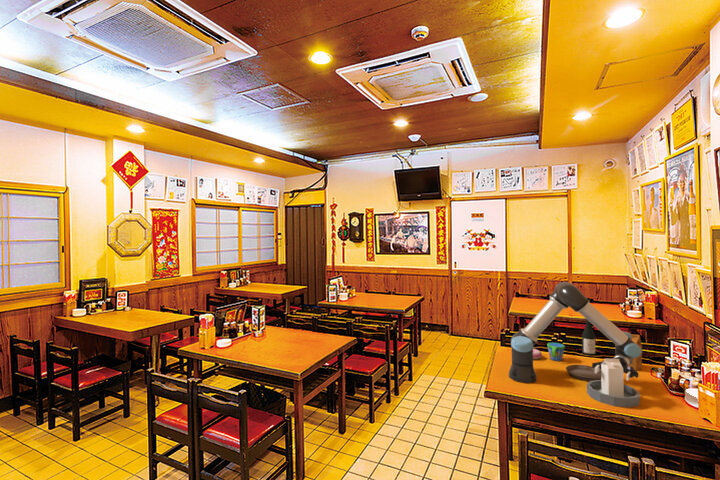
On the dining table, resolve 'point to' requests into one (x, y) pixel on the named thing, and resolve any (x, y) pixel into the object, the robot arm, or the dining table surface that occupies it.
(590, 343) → the wine bottle
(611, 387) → the milk carton
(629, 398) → the bowl
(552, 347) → the snack cup
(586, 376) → the plant saucer
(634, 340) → the coffee package
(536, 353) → the donut
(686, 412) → the dining table surface
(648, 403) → the dining table surface
